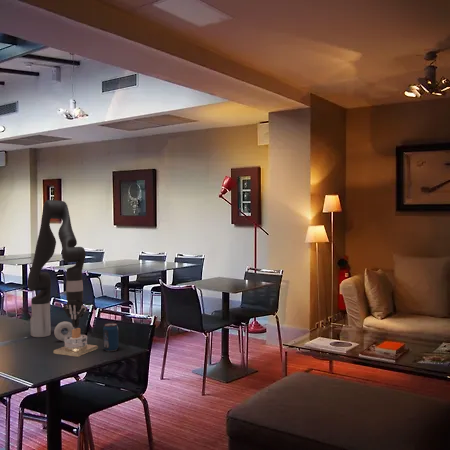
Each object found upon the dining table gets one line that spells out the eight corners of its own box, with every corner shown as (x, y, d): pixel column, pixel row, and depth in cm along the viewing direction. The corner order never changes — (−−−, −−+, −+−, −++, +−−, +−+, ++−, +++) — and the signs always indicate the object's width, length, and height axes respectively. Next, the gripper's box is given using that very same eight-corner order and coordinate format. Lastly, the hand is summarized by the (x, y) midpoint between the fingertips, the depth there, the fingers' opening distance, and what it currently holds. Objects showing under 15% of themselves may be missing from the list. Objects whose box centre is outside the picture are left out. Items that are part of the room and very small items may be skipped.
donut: (54, 343, 254) (54, 323, 253) (54, 341, 257) (53, 321, 257) (75, 340, 258) (75, 321, 257) (74, 339, 261) (74, 319, 261)
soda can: (119, 347, 243) (119, 322, 243) (117, 351, 236) (116, 325, 236) (105, 347, 243) (104, 322, 243) (102, 351, 236) (101, 326, 236)
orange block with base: (66, 341, 236) (66, 329, 236) (75, 338, 242) (75, 326, 242) (77, 342, 234) (77, 330, 234) (85, 339, 239) (85, 327, 239)
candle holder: (53, 353, 235) (53, 339, 234) (74, 346, 247) (73, 332, 247) (78, 356, 229) (77, 342, 229) (97, 348, 242) (97, 335, 242)
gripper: (91, 289, 238) (92, 326, 239) (68, 288, 243) (69, 324, 244) (80, 291, 231) (81, 329, 232) (57, 290, 237) (58, 327, 237)
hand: (75, 326), depth 238 cm, fingers closed
